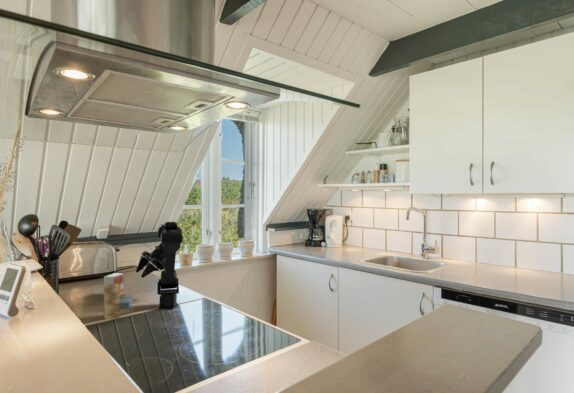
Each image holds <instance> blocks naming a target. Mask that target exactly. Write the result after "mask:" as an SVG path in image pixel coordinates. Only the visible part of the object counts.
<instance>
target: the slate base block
mask: <svg viewBox="0 0 574 393" xmlns="http://www.w3.org/2000/svg"><path fill="white" fill-rule="evenodd" d="M134 299H135V298H134V296H119V310H122V309H124V310H125V309H130V307H131V306H133V304H134Z"/></svg>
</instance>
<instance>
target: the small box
mask: <svg viewBox="0 0 574 393" xmlns="http://www.w3.org/2000/svg"><path fill="white" fill-rule="evenodd" d="M116 283H117V284H118V285H119V286H120V289H119V297H122V296H123V295H124V294H125V273H120V272H113V273H112V274H111V273H110V274H107V275H105V276H104V275H103V286H104V285H108V284H116Z"/></svg>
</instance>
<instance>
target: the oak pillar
mask: <svg viewBox="0 0 574 393" xmlns="http://www.w3.org/2000/svg"><path fill="white" fill-rule="evenodd" d="M119 289H120V286H119V285H118V284H117V283H116V284H108V285H104V284H103V317H104V320H111V319H112V318H113V319H118V318H120V309H119V297H120V296H119Z"/></svg>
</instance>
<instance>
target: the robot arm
mask: <svg viewBox="0 0 574 393" xmlns="http://www.w3.org/2000/svg"><path fill="white" fill-rule="evenodd" d="M157 237H158V239H159V240H160V243H159V244H158V246H157V245H156V246H154V248H155V249H154V250H152V251H151V252H148V251H147V250H145V251H143V252H142V253H141V255H140V259H139V262H138V264H137V267H136V270H135V272H136V273H139V272H141V271H142V270H143V269H144V270H143V272H142V273H141V275H140V277H141V278H142V279H143V278H145V277H147V276H148V275H150V274H151V273H153V272H160V271H161V274H160V278H159V279H158V281H157V282H156V283H157V292H156V294H157V295H159V306H158V309H164V310H165V309H166V310H167V309H168V310H169V309H170V310H172V309H174V308H175V307H177V306H178V304H179V303H178V302H177V297H178V296H177V295H178V294H179V293H180V288H179V285H180V284H179V278H178V274H177V270H176V269H175V267H176V256H177V252H178V251H179V250H180V249H181V245H182V243H183V230H182V228H180V227H179V226H178V222H176V221H166V222H164V223H163V224H161V225H160V226H159V227H158V232H157Z"/></svg>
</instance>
